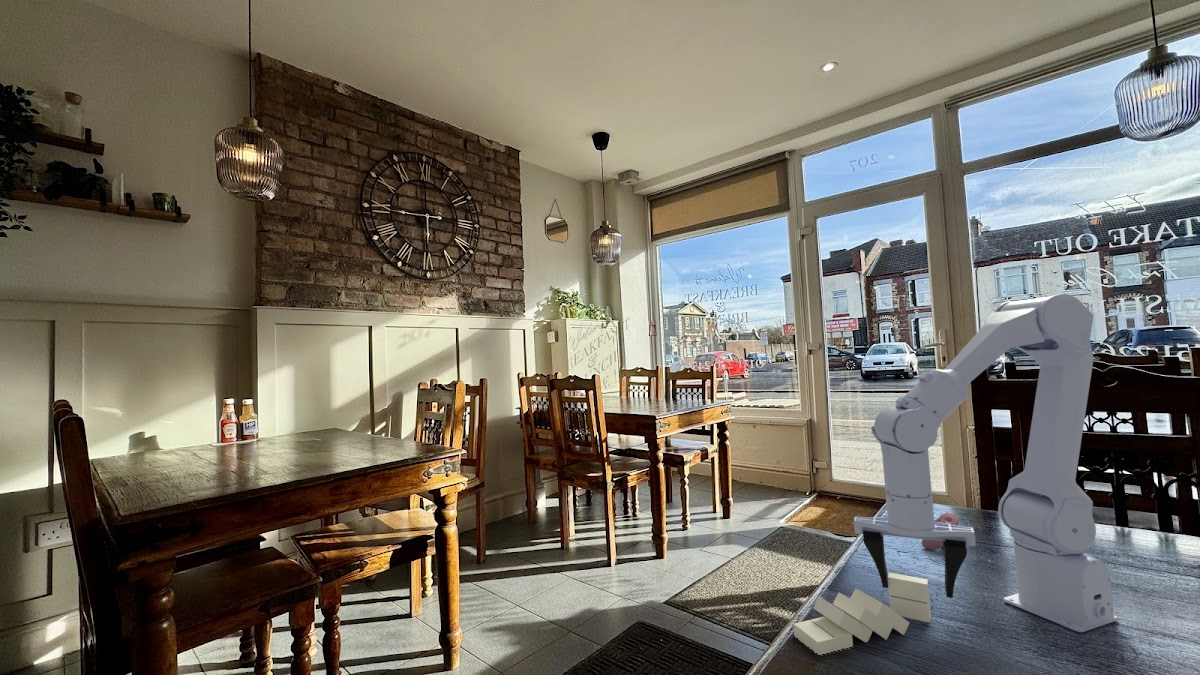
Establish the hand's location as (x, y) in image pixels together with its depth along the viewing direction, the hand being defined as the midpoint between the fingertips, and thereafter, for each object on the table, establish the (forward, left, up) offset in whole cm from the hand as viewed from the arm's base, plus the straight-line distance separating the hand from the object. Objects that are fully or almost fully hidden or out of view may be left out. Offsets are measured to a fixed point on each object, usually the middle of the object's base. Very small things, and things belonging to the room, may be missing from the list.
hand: (916, 589), depth 72 cm
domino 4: (0, +5, -3) cm, 6 cm away
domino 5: (+1, +1, -4) cm, 4 cm away
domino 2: (0, +11, -3) cm, 11 cm away
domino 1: (0, +14, -3) cm, 14 cm away
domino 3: (0, +8, -3) cm, 9 cm away
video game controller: (+17, -27, -4) cm, 32 cm away
